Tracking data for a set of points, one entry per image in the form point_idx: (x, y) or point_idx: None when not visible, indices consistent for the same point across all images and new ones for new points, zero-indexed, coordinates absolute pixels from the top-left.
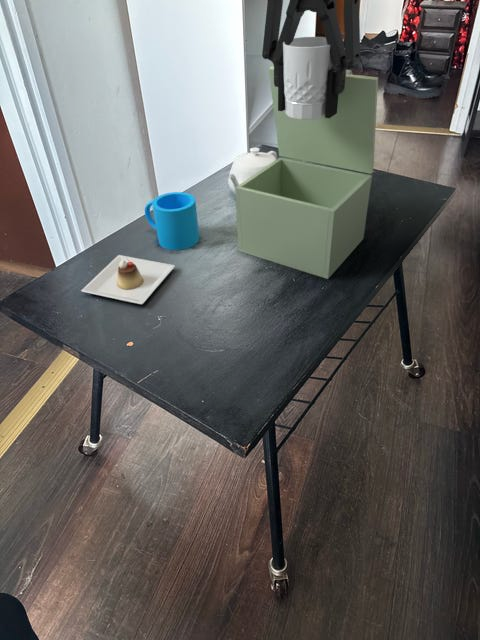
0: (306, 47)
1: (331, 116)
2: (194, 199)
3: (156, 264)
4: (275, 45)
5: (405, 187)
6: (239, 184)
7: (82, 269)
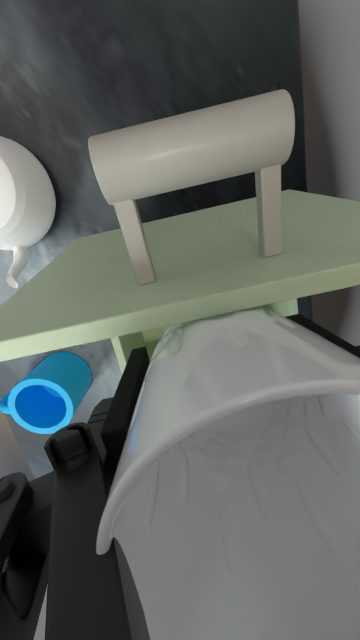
0: None
1: None
2: (56, 385)
3: None
4: (10, 542)
5: None
6: (19, 257)
7: (50, 471)
